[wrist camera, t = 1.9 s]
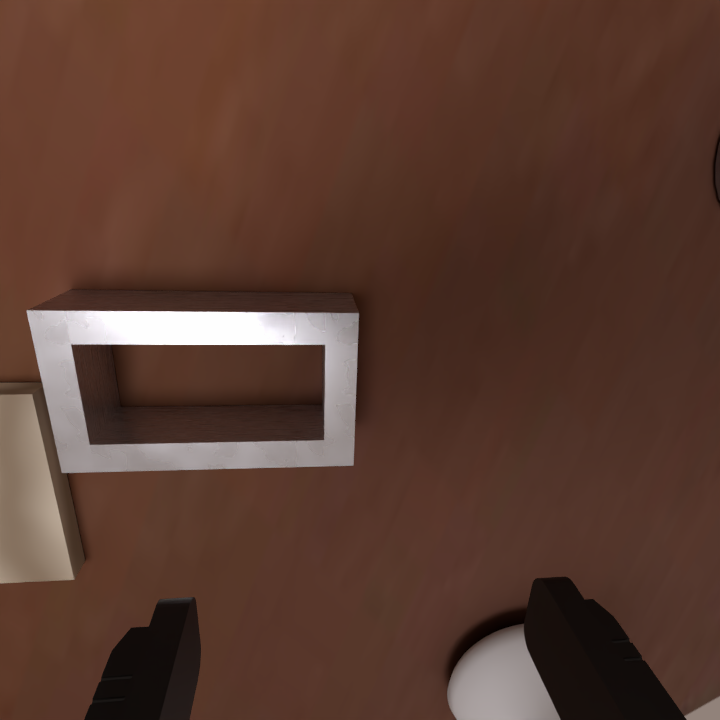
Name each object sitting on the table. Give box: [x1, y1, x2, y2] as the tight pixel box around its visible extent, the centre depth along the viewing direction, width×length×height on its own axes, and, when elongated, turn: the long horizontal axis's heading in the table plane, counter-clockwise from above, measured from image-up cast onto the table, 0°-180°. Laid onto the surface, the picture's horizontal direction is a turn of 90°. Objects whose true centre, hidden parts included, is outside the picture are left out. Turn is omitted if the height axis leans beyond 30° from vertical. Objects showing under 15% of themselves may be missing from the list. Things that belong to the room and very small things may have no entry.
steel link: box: [27, 290, 359, 473], centre depth 24 cm, size 14×8×4 cm, turn 88°
